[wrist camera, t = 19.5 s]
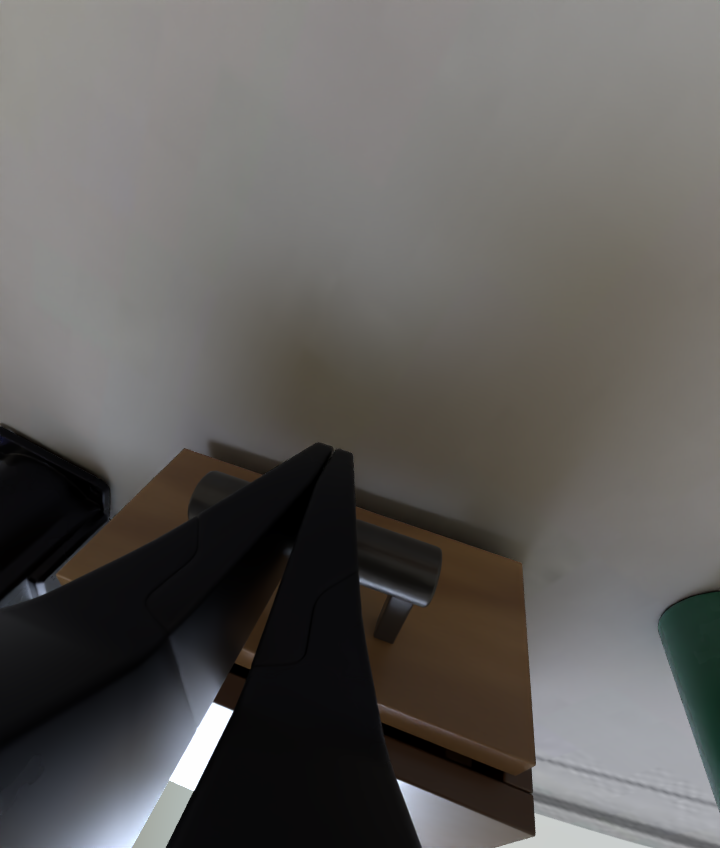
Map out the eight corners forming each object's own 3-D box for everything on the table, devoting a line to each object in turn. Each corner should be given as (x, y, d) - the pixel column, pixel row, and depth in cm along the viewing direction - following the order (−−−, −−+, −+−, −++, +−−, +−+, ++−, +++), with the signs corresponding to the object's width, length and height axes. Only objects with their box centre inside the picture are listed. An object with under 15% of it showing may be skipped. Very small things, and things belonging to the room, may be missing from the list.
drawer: (172, 361, 13) (-2, 477, 8) (579, 488, 11) (635, 714, 7) (209, 626, 25) (145, 734, 20) (412, 706, 23) (392, 842, 19)
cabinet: (188, 456, 17) (24, 623, 11) (519, 570, 15) (536, 837, 9) (211, 628, 27) (132, 763, 21) (413, 707, 26) (388, 878, 20)
